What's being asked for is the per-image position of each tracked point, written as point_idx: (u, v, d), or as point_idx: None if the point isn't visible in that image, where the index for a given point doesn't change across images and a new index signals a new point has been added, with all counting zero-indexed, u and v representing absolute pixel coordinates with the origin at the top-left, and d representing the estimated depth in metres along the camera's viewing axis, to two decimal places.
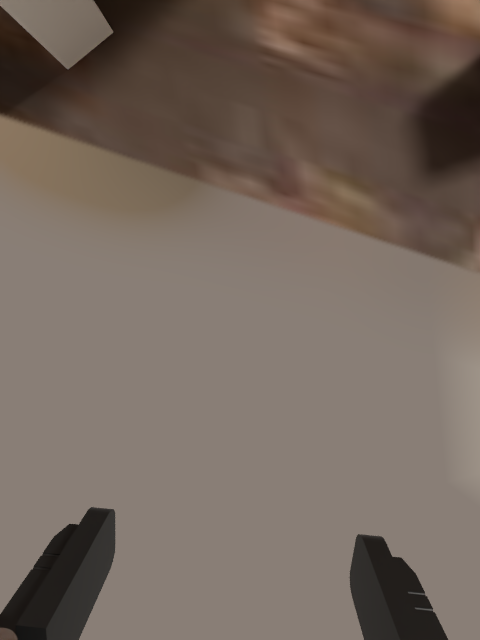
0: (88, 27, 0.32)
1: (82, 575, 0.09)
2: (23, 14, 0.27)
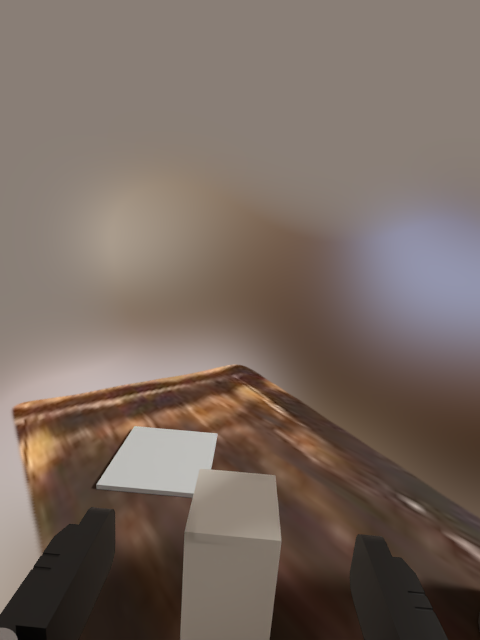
0: None
1: (82, 575, 0.09)
2: (194, 588, 0.22)
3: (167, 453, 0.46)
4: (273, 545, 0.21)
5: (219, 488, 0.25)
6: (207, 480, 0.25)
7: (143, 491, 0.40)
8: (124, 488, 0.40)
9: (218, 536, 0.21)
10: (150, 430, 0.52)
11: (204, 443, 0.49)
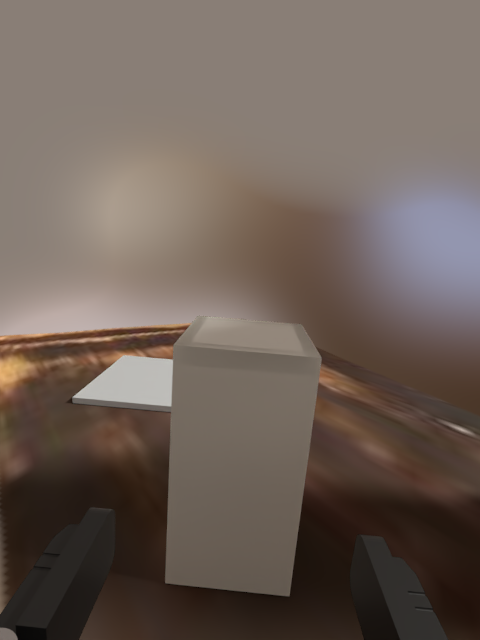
0: (258, 549, 0.16)
1: (82, 575, 0.09)
2: (188, 442, 0.15)
3: (160, 376, 0.39)
4: (308, 366, 0.14)
5: (225, 326, 0.18)
6: (209, 321, 0.18)
7: (129, 406, 0.33)
8: (106, 402, 0.33)
9: (225, 353, 0.14)
10: (142, 358, 0.45)
11: None
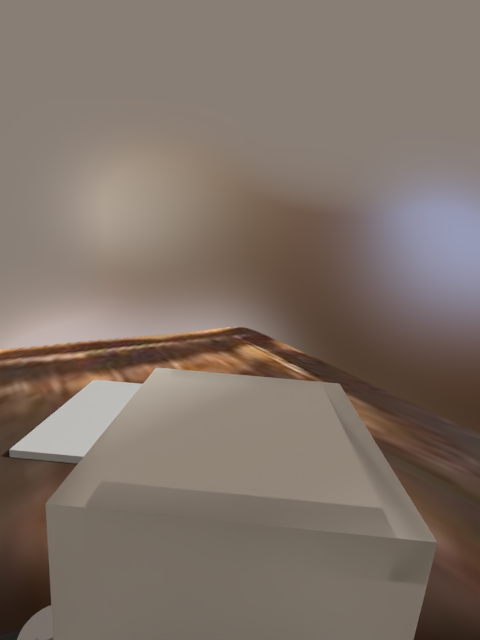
0: None
1: None
2: None
3: None
4: (400, 561, 0.05)
5: (199, 399, 0.09)
6: (171, 385, 0.10)
7: None
8: (55, 456, 0.24)
9: (181, 525, 0.05)
10: (116, 384, 0.36)
11: None
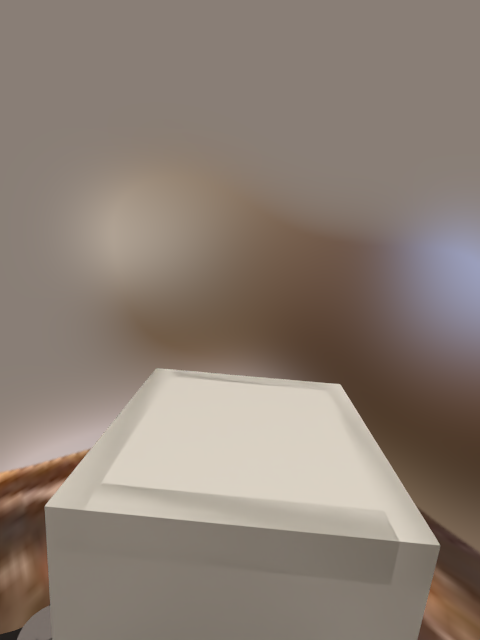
0: None
1: None
2: None
3: None
4: (402, 564, 0.05)
5: (200, 400, 0.09)
6: (171, 385, 0.10)
7: None
8: None
9: (181, 528, 0.05)
10: None
11: None
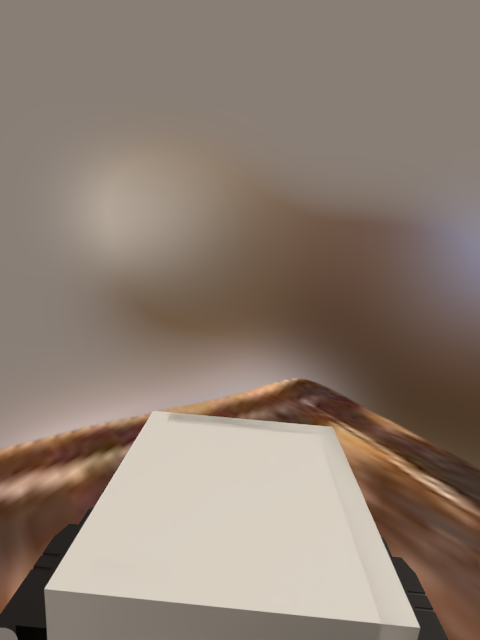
0: None
1: None
2: None
3: None
4: None
5: (195, 451, 0.09)
6: (167, 433, 0.10)
7: None
8: None
9: (174, 608, 0.05)
10: None
11: None
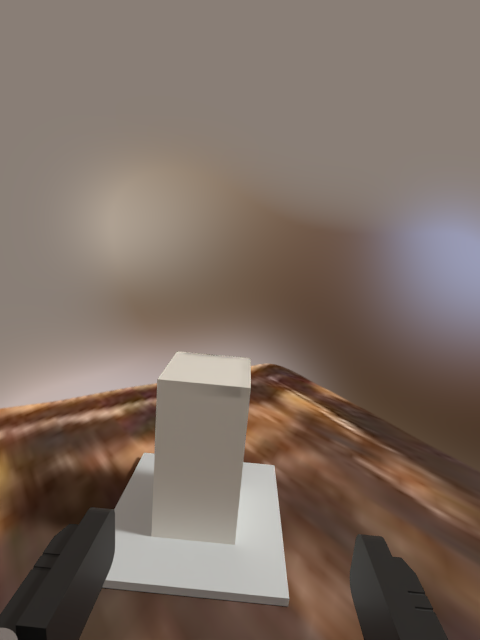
0: (213, 512, 0.23)
1: (82, 575, 0.09)
2: (166, 440, 0.22)
3: None
4: (242, 393, 0.22)
5: (194, 361, 0.25)
6: (184, 357, 0.26)
7: (169, 591, 0.21)
8: (132, 585, 0.21)
9: (190, 384, 0.22)
10: None
11: (259, 483, 0.30)
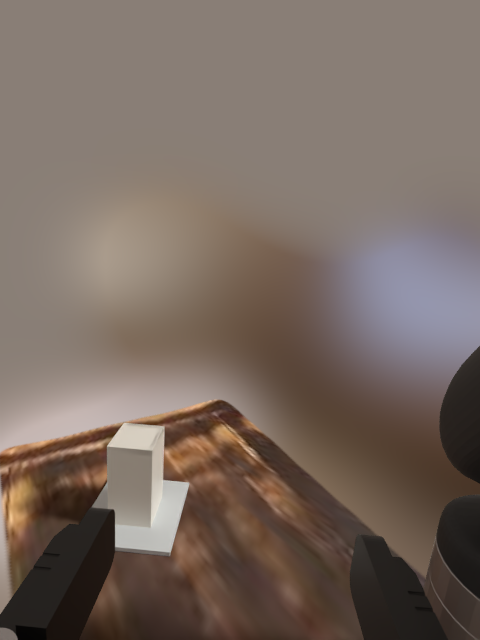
0: (138, 511, 0.46)
1: (82, 575, 0.09)
2: (113, 475, 0.45)
3: None
4: (148, 453, 0.44)
5: (131, 431, 0.48)
6: (126, 427, 0.49)
7: None
8: None
9: (123, 448, 0.44)
10: None
11: (175, 494, 0.53)
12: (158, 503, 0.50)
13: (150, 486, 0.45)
